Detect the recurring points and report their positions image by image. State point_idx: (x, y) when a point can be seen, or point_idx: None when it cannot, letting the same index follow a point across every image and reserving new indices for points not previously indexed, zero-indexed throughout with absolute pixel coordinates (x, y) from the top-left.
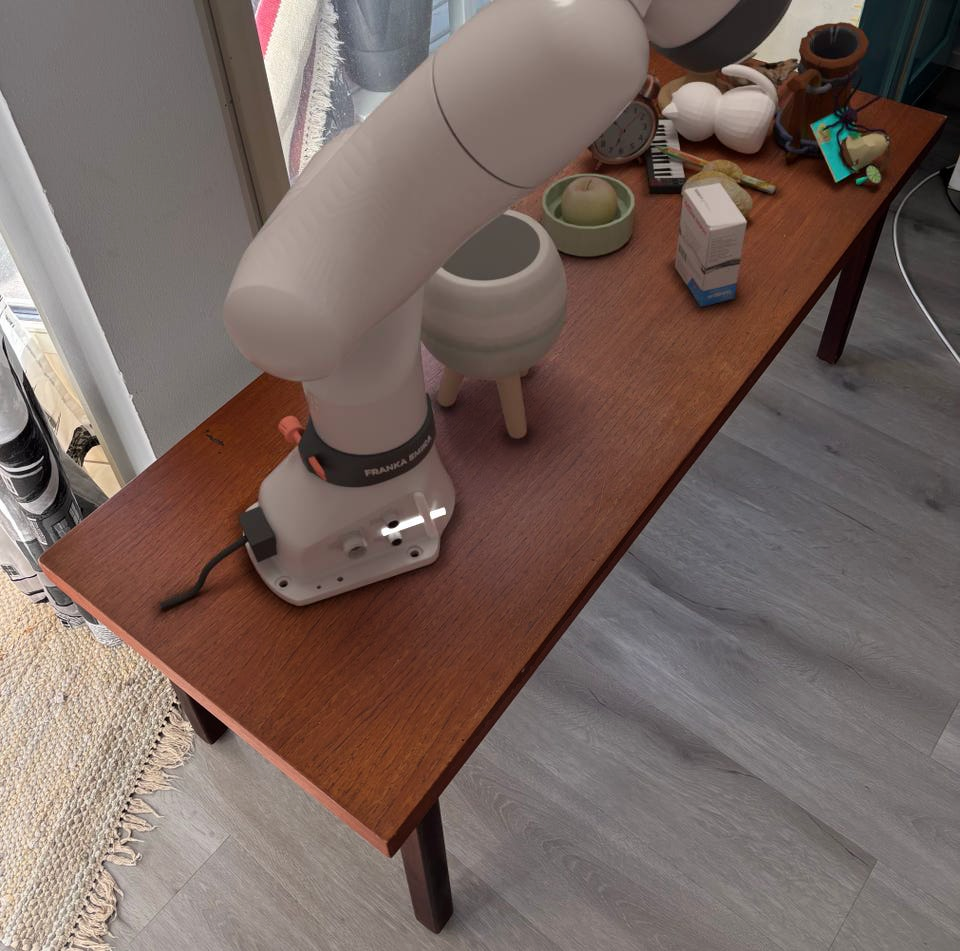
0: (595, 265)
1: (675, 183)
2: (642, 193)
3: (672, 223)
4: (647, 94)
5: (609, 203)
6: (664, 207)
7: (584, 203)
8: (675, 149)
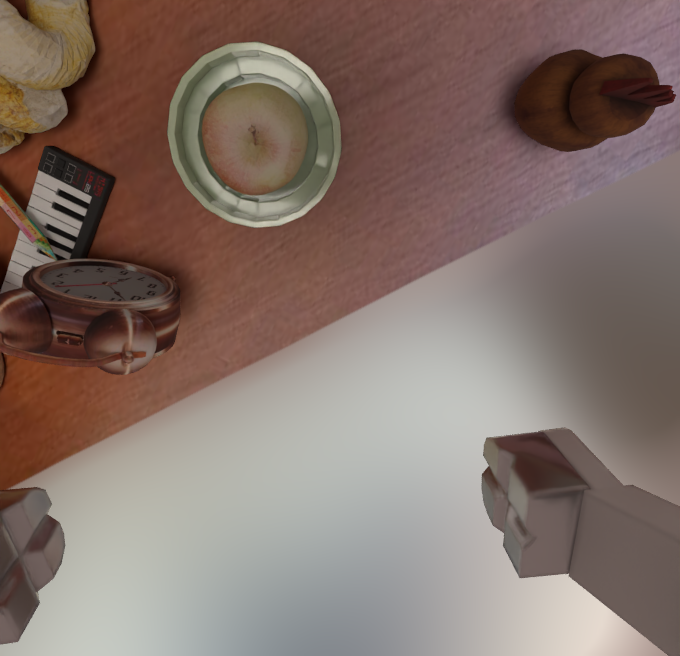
0: (291, 46)
1: (62, 159)
2: (126, 186)
3: (112, 78)
4: (26, 293)
5: (231, 91)
6: (106, 129)
7: (281, 104)
8: (24, 232)
